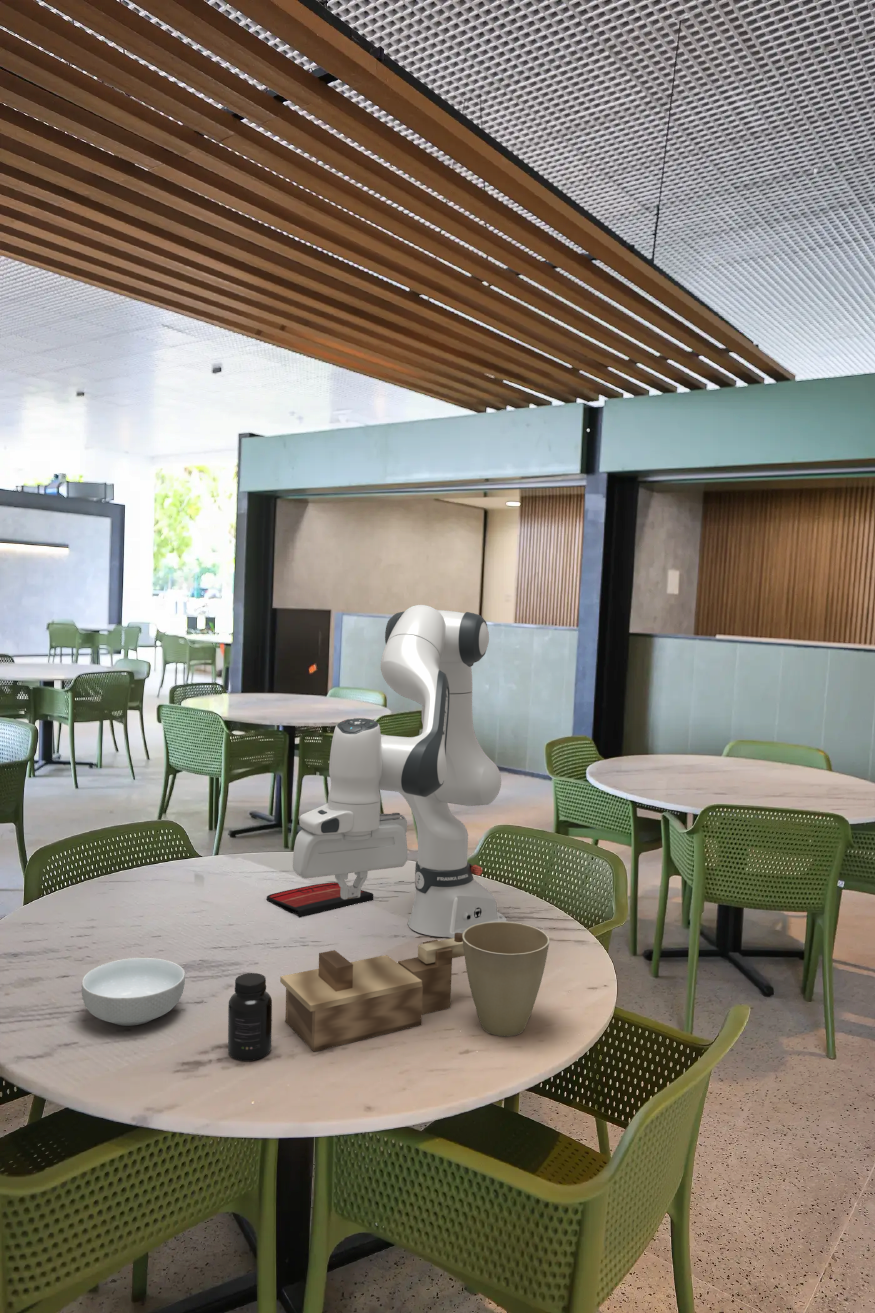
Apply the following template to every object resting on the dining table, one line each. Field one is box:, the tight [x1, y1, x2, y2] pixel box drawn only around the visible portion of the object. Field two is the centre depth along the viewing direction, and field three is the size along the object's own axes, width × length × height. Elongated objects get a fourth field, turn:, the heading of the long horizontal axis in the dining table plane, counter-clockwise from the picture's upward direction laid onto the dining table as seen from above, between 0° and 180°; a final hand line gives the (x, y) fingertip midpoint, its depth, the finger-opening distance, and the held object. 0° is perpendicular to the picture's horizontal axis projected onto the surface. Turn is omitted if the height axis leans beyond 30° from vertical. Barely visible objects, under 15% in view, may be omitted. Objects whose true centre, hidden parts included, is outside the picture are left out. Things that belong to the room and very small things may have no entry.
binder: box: [266, 881, 374, 919], centre depth 222 cm, size 16×2×21 cm
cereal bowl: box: [81, 957, 186, 1027], centre depth 159 cm, size 17×17×7 cm
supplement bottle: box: [227, 972, 273, 1062], centre depth 148 cm, size 7×7×12 cm
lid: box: [279, 949, 422, 1012], centre depth 158 cm, size 21×13×6 cm, turn 122°
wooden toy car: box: [417, 933, 465, 964], centre depth 168 cm, size 9×3×4 cm, turn 122°
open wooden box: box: [284, 939, 453, 1053], centre depth 161 cm, size 28×12×11 cm, turn 122°
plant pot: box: [462, 921, 550, 1037], centre depth 159 cm, size 15×15×16 cm
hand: (350, 897), depth 156 cm, fingers closed
